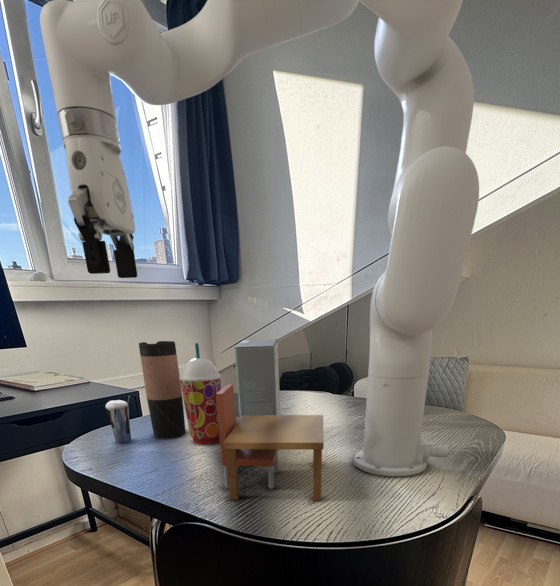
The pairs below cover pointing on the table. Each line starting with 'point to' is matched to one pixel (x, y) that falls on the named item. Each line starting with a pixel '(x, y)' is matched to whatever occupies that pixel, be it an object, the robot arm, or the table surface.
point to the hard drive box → (258, 377)
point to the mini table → (276, 442)
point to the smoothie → (201, 398)
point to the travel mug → (163, 388)
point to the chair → (242, 455)
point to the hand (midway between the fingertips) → (114, 275)
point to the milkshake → (119, 420)
